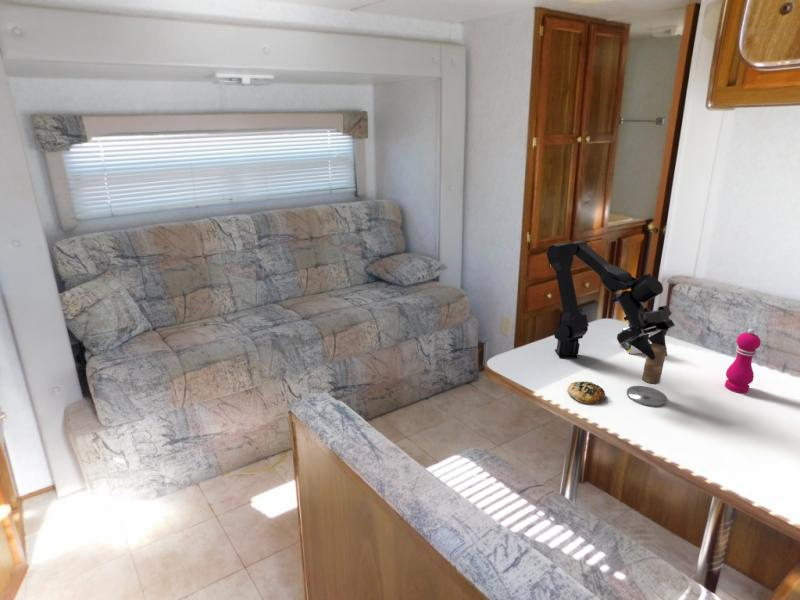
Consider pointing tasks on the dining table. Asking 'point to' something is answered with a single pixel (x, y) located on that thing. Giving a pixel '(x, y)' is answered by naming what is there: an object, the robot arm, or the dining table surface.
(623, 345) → the medicine bottle
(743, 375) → the pepper mill
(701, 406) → the dining table surface
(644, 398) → the pad
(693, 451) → the dining table surface
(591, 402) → the bread roll
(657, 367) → the walnut post
